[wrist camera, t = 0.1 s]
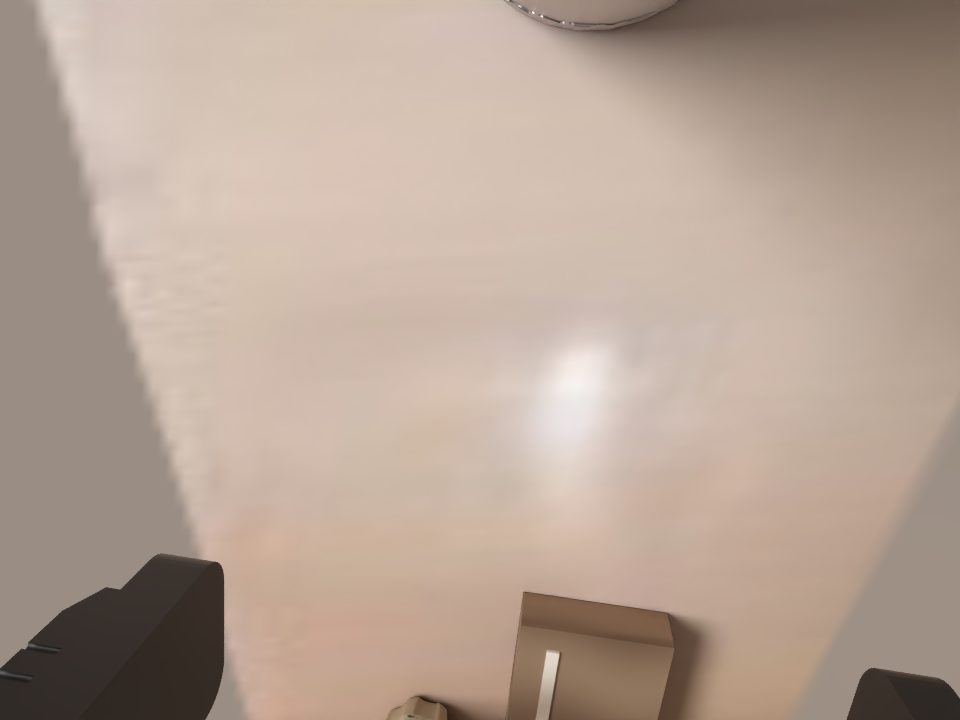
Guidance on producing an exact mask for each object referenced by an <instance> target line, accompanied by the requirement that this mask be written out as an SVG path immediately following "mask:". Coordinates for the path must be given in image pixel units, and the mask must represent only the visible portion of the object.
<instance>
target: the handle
mask: <svg viewBox="0 0 960 720" xmlns="http://www.w3.org/2000/svg"><path fill="white" fill-rule="evenodd" d="M386 720H448V719H447V709H446V708H445V707H444V706H443V705H441V704H440V703H430V702H427V701H424V700H422V699H421V698H420V697H412V698H409V699H408V701H407V703H406V704H405V705H403V706H402V707H400V708H397V709H396V708H395V709H393V710H391V711H390V712H389V714H388V716H387V718H386Z"/></svg>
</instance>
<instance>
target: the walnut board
mask: <svg viewBox="0 0 960 720" xmlns="http://www.w3.org/2000/svg"><path fill="white" fill-rule="evenodd" d="M674 650H675V647H674V642H673V637H672V632H671V628H670V623H669V618H668V614H667V613H663V612H656V611H649V610H642V609H635V608H629V607H622V606H615V605H608V604H601V603H595V602H588V601H581V600H574V599H567V598H561V597H554V596H547V595H540V594H533V593H527V592H523V599H522V606H521V613H520V620H519V627H518V634H517V641H516V648H515V656H514V663H513V670H512V677H511V684H510V691H509V698H508V705H507V712H506V720H658V716H659V711H660V707H661V703H662V699H663V695H664V691H665V687H666V683H667V679H668V675H669V670H670V666H671V662H672V658H673V654H674Z"/></svg>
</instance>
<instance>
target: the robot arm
mask: <svg viewBox="0 0 960 720" xmlns="http://www.w3.org/2000/svg"><path fill="white" fill-rule="evenodd" d="M505 1H506V2H507V3H508V4H510V5H511V6H512V7H513V8H515V9H516V10H517V11H519V12H521V13H524V14H526V15H528V16H530V17H532V18H534V19H536V20H538V21H540V22H543V23H545V24H548V25H553V26H557V27H562V28H567V29H572V30H576V31H578V30H609V29H613V28H617V27H621V26H625V25H629V24H633V23H637V22H640V21H642V20H644V19H646V18H648V17H650V16H652V15H654V14H656V13H658V12H660V11H662V10H664V9H666V8H668V7H670V6H672V5H673V4H674V3H676V2H677V1H678V0H505ZM223 666H224V573H223V569H222V566H221V565H220V564H219V563H218V562H213V561H206V560H200V559H194V558H187V557H180V556H175V555H168V554H158V555H156V556H154V557H153V558H152V559H151V560H149V561H148V562H147V564H145V566H144V567H142V569H141V570H140V571H139V572H138V573H137V574H136V575H135V576H134V577H133V578H132V579H131V580H130V581H129V582H128V583H127V584H126V585H125V586H124V587H123V588H122V589H121V590H119V589H113V588H107V587H106V588H104V589H102V590H100V591H99V592H97V593H95V594H93V595H91V596H89V597H87V598H86V599H84V600H82V601H80V602H78V603H76V604H74V605H72V606H71V607H69V608H67V609H65V610H63V611H62V612H61V613H59V614H58V616H56V617H55V618H54V619H53V620H52V621H51V622H50V623H49V624H48V625H47V626H45V627H44V628H43V629H42V630H41V631H40V632H39V633H38V634H37V635H36V636H35V637H34V638H33V639H32V640H30V641H29V642H28V647H27V648H26V649H25V650H24V649H21V650H20V651H19V652H18V653H16V654H15V655H14V656H13V657H12V658H11V659H10V660H9V661H8V662H7V663H6V664H5V665H4V666H2V667H1V668H0V720H205V719H206V717H207V716H208V714H209V712H210V710H211V708H212V706H213V703H214V701H215V699H216V696H217V693H218V690H219V686H220V682H221V678H222V673H223ZM847 720H960V699H959V697H958V696H957V694H956V693H955V692H954V690H953V689H952V688H951V687H950V686H949V684H947V683H946V682H945V681H943V680H941V679H939V678H934V677H928V676H921V675H915V674H909V673H903V672H895V671H890V670H884V669H877V668H871V669H868V670H867V671H866V672H865V673H864V674H863V675H862V677H861V679H860V681H859V684H858V687H857V690H856V693H855V696H854V699H853V702H852V705H851V708H850V711H849V714H848V717H847Z"/></svg>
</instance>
